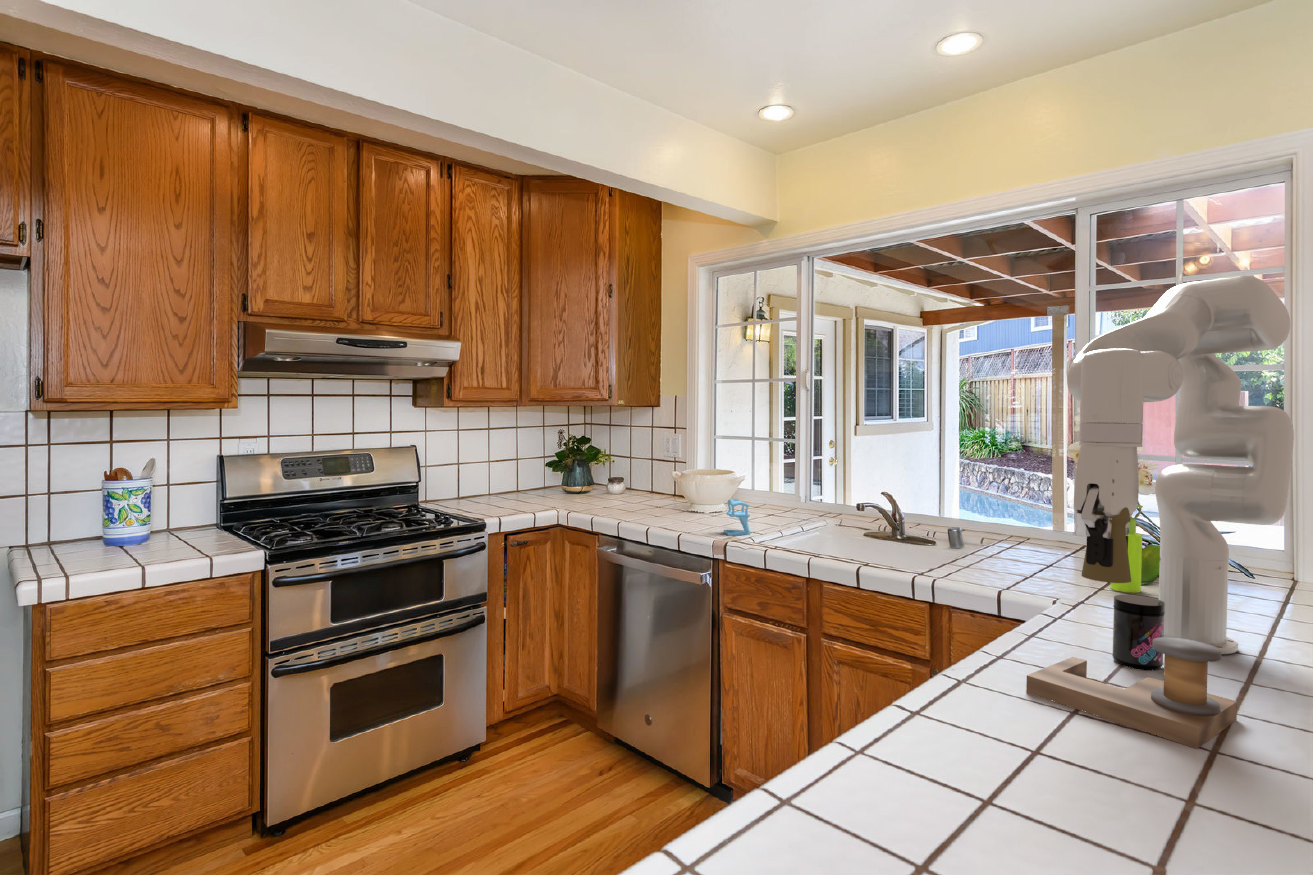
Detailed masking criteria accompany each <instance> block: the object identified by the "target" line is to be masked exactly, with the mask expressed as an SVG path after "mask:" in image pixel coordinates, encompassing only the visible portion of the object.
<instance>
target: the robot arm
mask: <svg viewBox="0 0 1313 875" xmlns="http://www.w3.org/2000/svg"><path fill="white" fill-rule="evenodd" d="M1290 318H1291V317H1290V314H1289V311H1288V309H1287V308H1286V305H1285V304H1284V302H1283V301H1282V300H1281V299H1280V297H1279V296H1278V295H1277V294H1276V292H1275V291H1274V290H1273V289H1272V287H1270V285H1269V284H1267V283H1266V282H1265V281H1264V280H1262V279H1260V278H1258V277H1254V276H1252V275H1238V276H1230V277H1229V276H1228V277H1222V278H1215V279H1205V280H1200V281H1198V280H1197V281H1191V282H1190V281H1189V282H1185V283H1182V284H1178V285H1176V286H1173V287H1171V288H1170V289H1168V290H1166V291H1165V293H1163V294H1162V296H1161V297H1160V298H1159V299H1158V300H1157V302H1155V304H1154V305H1153V306H1152V307H1151V308H1150V310H1148V312H1147V313H1146V315H1144V317H1143V318H1140V319H1138V320H1135V321H1132V322H1130V323H1128V324H1125V325H1122V326H1120V327H1119V328H1116V329H1113V330H1111V331H1108V332H1106V333H1104V334H1101V335H1099V336H1097V337H1096V338H1094V339H1092V340H1090V341H1089V343H1087V344H1085V346H1084V347H1083V348H1082V349H1081V350H1080V351H1079V352H1078V354H1077V355H1076V356H1075V357H1074V358H1073V360H1072V362H1071V363H1070V366H1069V368H1068V372H1067V375H1066V376H1067V377H1066V379H1067V380H1066V385H1067V389H1068V391H1069V393H1070V394H1071V396H1072V397H1073V398H1074V399H1075V400H1077V401H1080V404H1079V436H1078V437H1079V441H1078V446H1080V448H1079V452H1078V457H1077V463H1076V470H1075V479H1074V480H1075V481H1074V491H1073V511H1074V512H1075V513H1076V514H1079V515H1080V519H1081V520H1082V522H1083V523H1084V525H1085V536H1086V547H1087V548H1085V552H1086V562H1087V563H1088V564H1092V565H1095V564H1096V563H1097V562H1098V563H1099V564H1100V565H1101V566H1104V567H1111V566H1112V565H1113V539H1111V538H1110V535H1111V527H1112V517H1114V516H1117V515H1119V514H1120V512H1121V510H1122V509H1123V508H1125V507H1126V508H1128V509H1129V512H1130V517H1131V515H1132V516H1133V514H1134V512H1135V511H1137V509H1138V507H1137V506H1138V505H1139V504H1138V503H1139V495H1140V494H1139V487H1140V485H1139V484H1140V483H1139V482H1140V479H1139V478H1140V477H1139V458H1138V457H1139V456H1138V448H1142V447H1143V432H1144V431H1143V430H1144V425H1143V423H1144V422H1143V421H1144V403H1157V402H1162V401H1166V400H1168V399H1170V398H1172V397H1173V396H1175V395H1176V394H1177V393H1178V392H1179V398H1178V404H1177V412H1176V417H1175V425H1174V431H1173V432H1174V433H1173V445H1174V448H1175V450H1176V452H1177V453H1178V454H1180V455H1181V456H1183V457H1186V458H1190V459H1198V460H1210V461H1213V460H1214V461H1231V462H1232V461H1234V462H1249V463H1251V464H1252V466H1234V465H1232V466H1231V465H1221V464H1203V463H1202V464H1201V463H1182V464H1174V465H1170V466H1167V467H1165V468H1164V469H1161V471H1160V472H1159V473H1158V474H1157V477H1156V479H1155V483H1154V485H1155V486H1154V492H1155V498H1156V503H1157V504H1156V505H1157V510H1158V516H1159V532H1160V534H1159V535H1160V536H1159V540H1160V542H1159V570H1158V572H1159V574H1158V575H1159V577H1158V600H1160V601H1163V602H1164V603H1165V614H1164V637H1171V638H1181V639H1188V640H1193V641H1198V642H1202V643H1205V644H1209V645H1212V646H1214V647H1216V648H1218V649H1220V650H1221V652H1222V655H1230V654H1234V653H1237V652H1239V645H1238V642H1237V641H1235V640H1234V639H1233V638H1229V637H1227V629H1228V628H1227V624H1228V622H1227V621H1228V598H1229V597H1228V594H1229V593H1228V590H1229V589H1228V588H1229V564H1230V561H1229V559H1230V557H1229V556H1230V549H1229V545H1228V543H1227V541H1226V539H1225V537H1224V536H1223V534H1222V533H1221V532H1220V531H1219V530H1218V528H1217V527H1216V526H1215V525H1214V524H1213V523H1212V522H1226V523H1233V524H1234V523H1236V524H1244V525H1245V524H1247V525H1258V526H1267V525H1268V526H1270V525H1274V524H1276V523H1278V522H1280V520H1282V518H1283V517H1284V514H1285V512H1286V508H1287V503H1288V496H1289V489H1290V479H1291V469H1292V463H1293V462H1292V461H1293V454H1294V453H1293V452H1294V451H1293V450H1294V439H1295V438H1294V437H1295V436H1294V435H1295V434H1294V433H1295V432H1294V425H1293V421H1292V418H1291V417H1290V415H1289V414H1288V413H1287V412H1286V410H1283V408H1280V407H1277V406H1268V405H1240V401H1241V390H1242V381H1241V379H1240V377H1239V376H1238V375H1237V373H1236V372H1235V371H1234V370H1233V369H1232V368H1231V367H1230V366H1229V365H1228V364H1226V363H1225V362H1224V361H1223V360H1221V359H1220V358H1218V357H1217V355H1215V354H1228V353H1246V352H1249V353H1250V352H1263V351H1270V350H1273V349H1274V350H1275V349H1276V348H1279V347H1280V346H1282V345H1283V344H1284V342H1286V340H1287V339H1288V337H1289V334H1290V330H1291V319H1290ZM1097 510H1098V511H1103V512H1104V513H1105V515H1097V514H1096V511H1097ZM1098 519H1100V520H1098ZM1101 520H1104V526H1103V524H1102V522H1101ZM1129 522H1130V519H1129ZM1129 522H1128V523H1127V524H1126V525H1125V534H1126V535H1128V534H1129ZM1126 542H1127V549H1128V536H1126Z"/></svg>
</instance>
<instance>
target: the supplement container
mask: <svg viewBox="0 0 1313 875" xmlns="http://www.w3.org/2000/svg"><path fill="white" fill-rule="evenodd" d="M1112 607H1113V619H1112V620H1113V621H1112V622H1113V624H1112V626H1113V627H1112V658H1113V660H1114V661H1115V662H1116V664H1118V665H1121V666H1123V667H1126V668H1130V669H1133V668H1134V670H1138V669H1139V670H1140V671H1148V670H1149V671H1152V670H1153V671H1158V670H1160V669H1161V668H1162V667H1163V666H1164V654H1163V653H1160V652H1158V651H1156V650H1155V649H1154V648H1153V647H1152V646H1153V639H1155V638H1160V637H1164V614H1165V603H1164V602H1163V601H1160V600H1159V598H1158V599H1157V598H1155V597H1148V596H1143V595H1135V594H1115V595H1113V605H1112Z"/></svg>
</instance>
